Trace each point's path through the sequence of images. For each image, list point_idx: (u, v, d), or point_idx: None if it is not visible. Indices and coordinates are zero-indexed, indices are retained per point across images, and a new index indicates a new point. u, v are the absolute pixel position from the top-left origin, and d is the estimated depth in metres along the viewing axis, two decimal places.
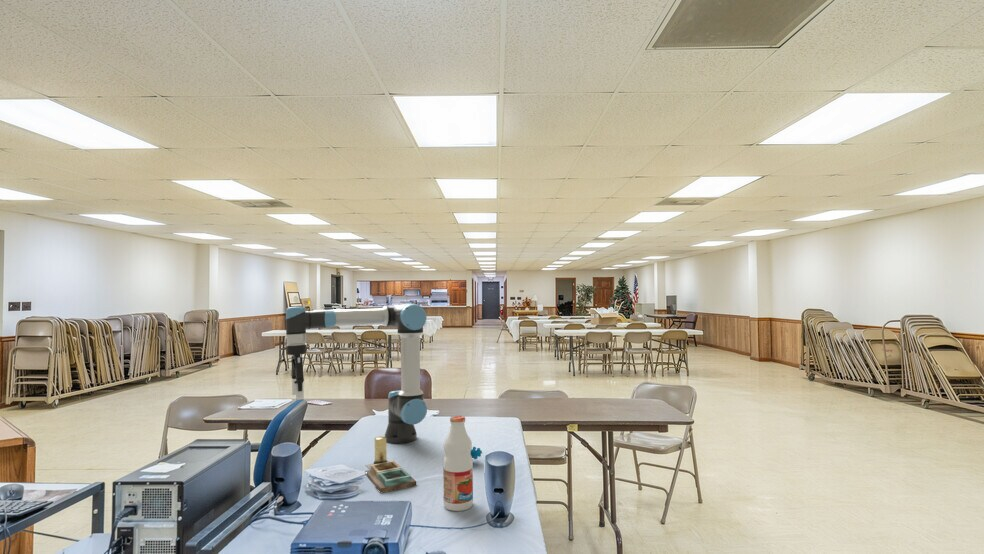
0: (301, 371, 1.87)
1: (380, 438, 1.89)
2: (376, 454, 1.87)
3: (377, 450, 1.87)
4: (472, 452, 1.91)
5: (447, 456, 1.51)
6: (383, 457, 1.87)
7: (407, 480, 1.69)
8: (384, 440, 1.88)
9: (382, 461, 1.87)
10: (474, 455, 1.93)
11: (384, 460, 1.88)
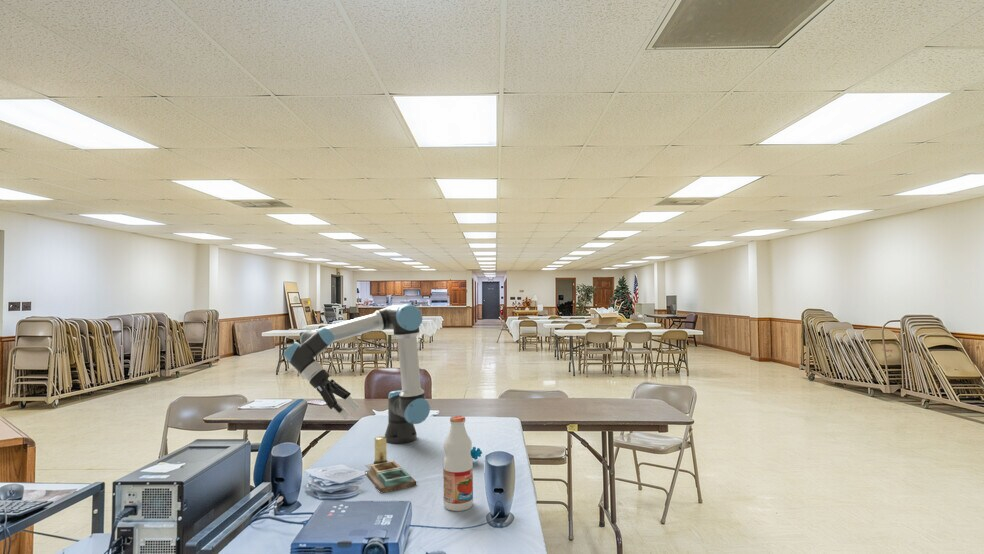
0: (327, 396, 1.82)
1: (380, 438, 1.89)
2: (376, 454, 1.87)
3: (377, 450, 1.87)
4: (472, 452, 1.91)
5: (447, 456, 1.51)
6: (383, 457, 1.87)
7: (407, 480, 1.69)
8: (384, 440, 1.88)
9: (382, 461, 1.87)
10: (474, 455, 1.93)
11: (384, 460, 1.88)
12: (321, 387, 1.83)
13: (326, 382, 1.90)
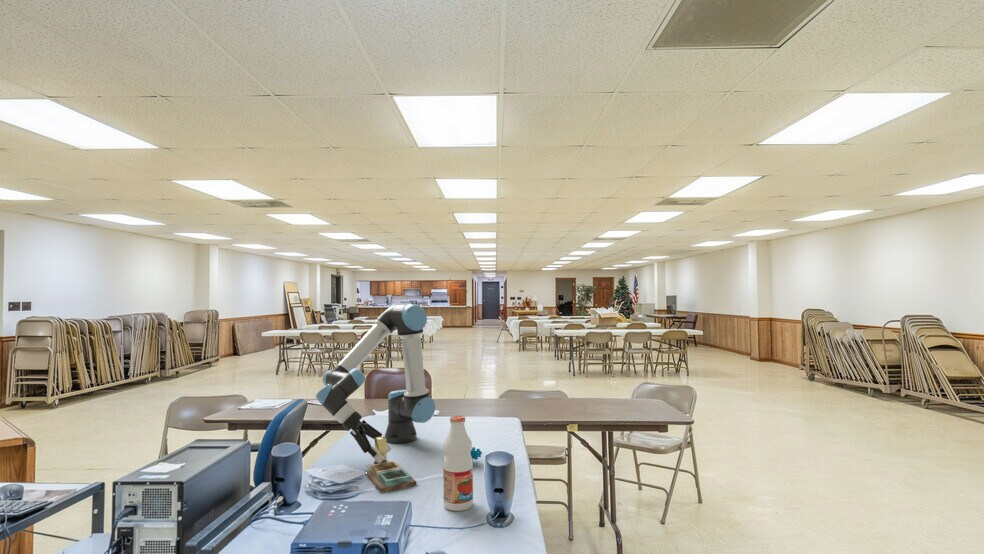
0: (361, 440, 1.81)
1: (380, 438, 1.89)
2: None
3: (377, 450, 1.87)
4: (472, 453, 1.91)
5: (447, 456, 1.51)
6: None
7: (407, 480, 1.69)
8: (384, 440, 1.88)
9: (382, 461, 1.87)
10: (474, 456, 1.93)
11: (384, 460, 1.88)
12: (355, 431, 1.83)
13: (359, 424, 1.89)
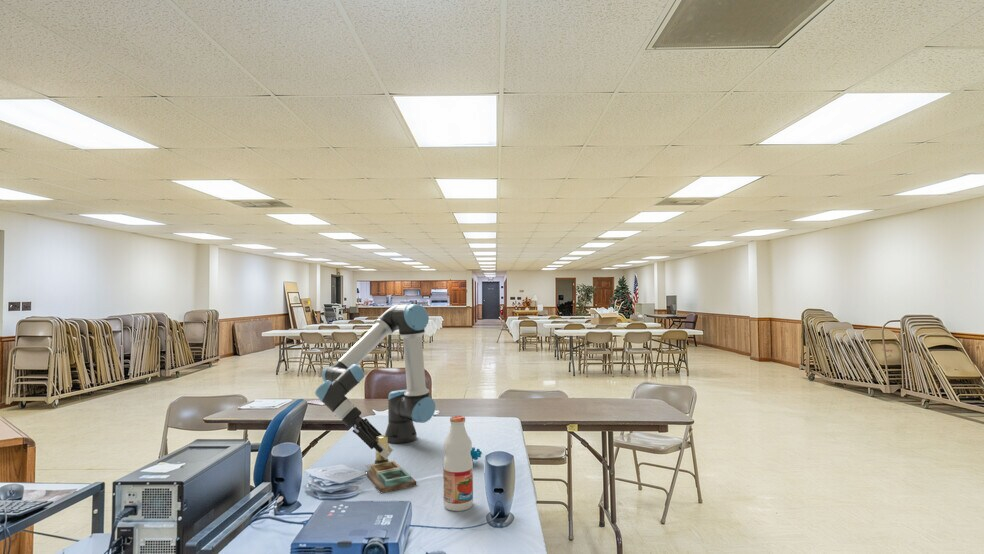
0: (366, 437, 1.83)
1: (381, 437, 1.89)
2: (377, 453, 1.87)
3: None
4: (471, 453, 1.91)
5: (447, 456, 1.51)
6: None
7: (407, 480, 1.69)
8: (385, 439, 1.88)
9: (383, 460, 1.87)
10: (474, 456, 1.92)
11: (385, 459, 1.87)
12: (358, 429, 1.83)
13: (358, 420, 1.89)
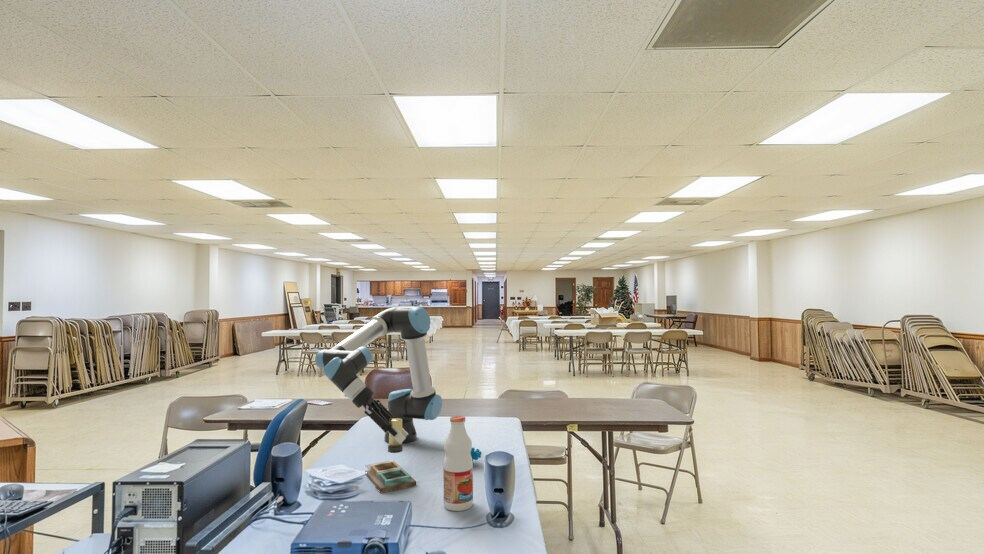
0: (379, 419, 1.66)
1: (395, 420, 1.71)
2: (391, 437, 1.70)
3: None
4: (471, 453, 1.90)
5: (447, 456, 1.51)
6: None
7: (407, 480, 1.69)
8: (400, 422, 1.71)
9: (397, 445, 1.70)
10: (474, 456, 1.92)
11: (399, 444, 1.70)
12: (370, 410, 1.66)
13: (370, 401, 1.72)
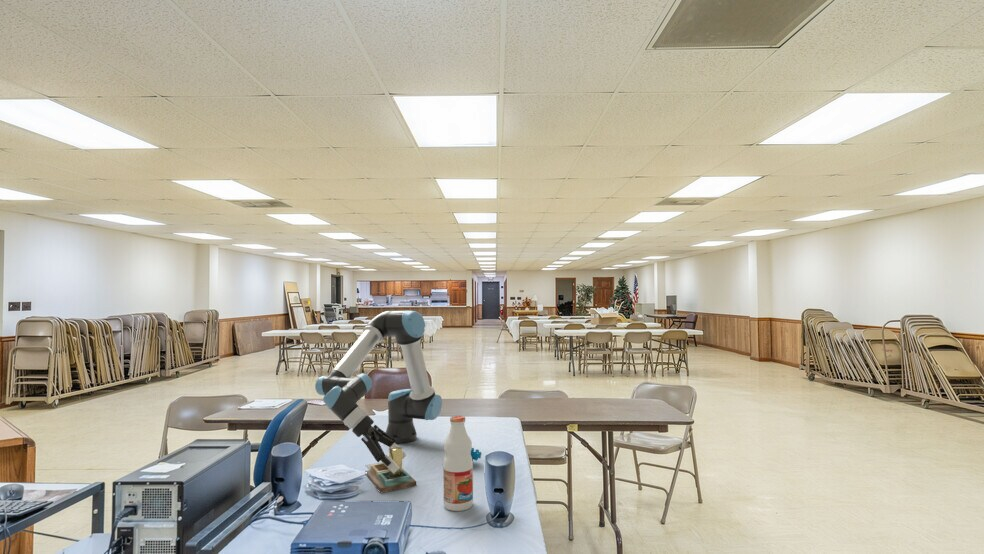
0: (374, 448, 1.63)
1: (395, 449, 1.71)
2: None
3: None
4: (471, 453, 1.90)
5: (447, 456, 1.51)
6: (398, 470, 1.69)
7: (407, 480, 1.69)
8: (399, 451, 1.70)
9: (397, 475, 1.69)
10: (474, 456, 1.92)
11: (399, 473, 1.70)
12: (367, 437, 1.65)
13: (370, 430, 1.71)
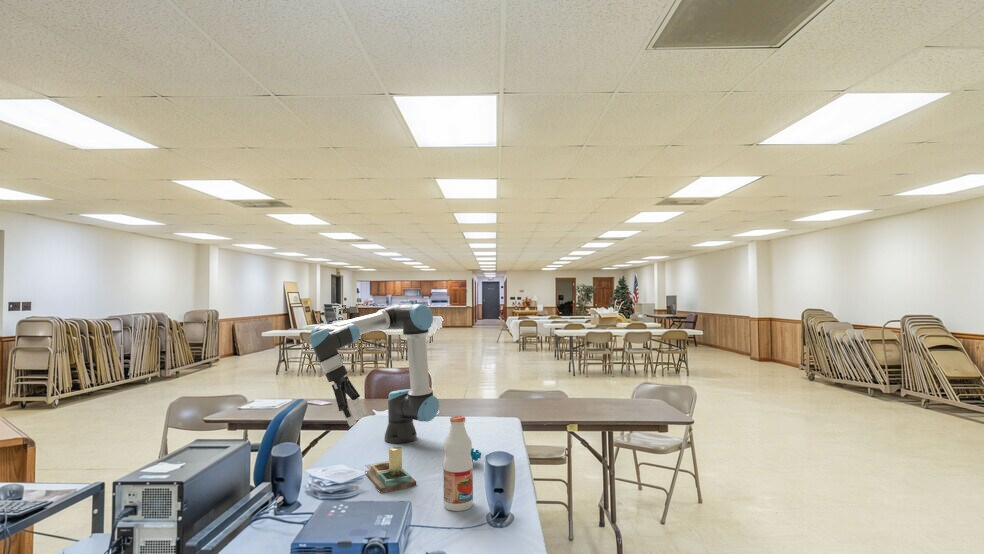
0: (340, 397, 1.72)
1: (395, 449, 1.71)
2: (390, 467, 1.69)
3: (392, 462, 1.69)
4: None
5: (447, 456, 1.51)
6: (398, 470, 1.69)
7: (407, 480, 1.69)
8: (399, 451, 1.70)
9: (397, 474, 1.69)
10: (473, 457, 1.91)
11: (399, 473, 1.70)
12: (337, 386, 1.74)
13: (342, 379, 1.80)
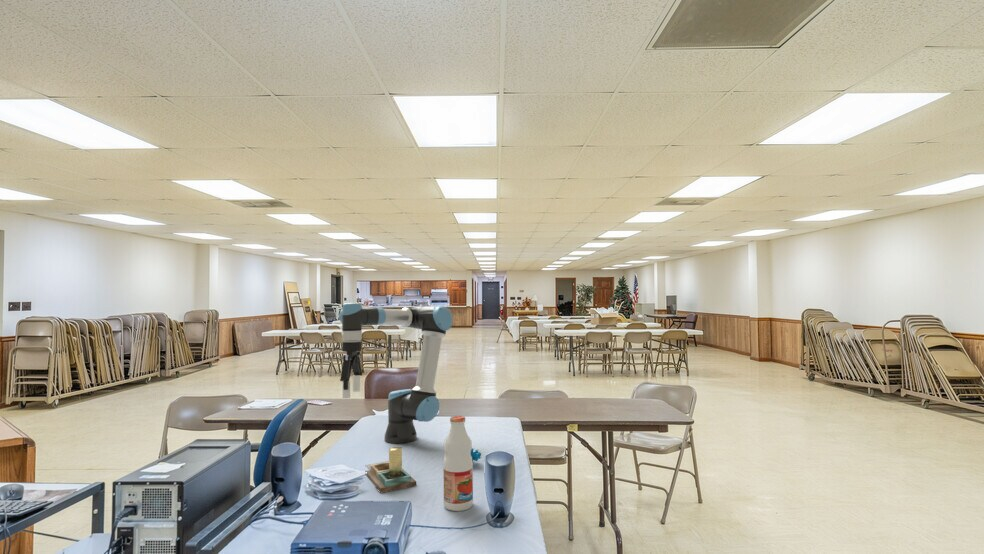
0: (346, 369, 1.82)
1: (395, 449, 1.71)
2: (390, 466, 1.70)
3: (391, 462, 1.69)
4: None
5: (447, 456, 1.51)
6: (398, 470, 1.69)
7: (407, 480, 1.69)
8: (399, 451, 1.70)
9: (397, 474, 1.69)
10: (473, 457, 1.91)
11: (399, 473, 1.70)
12: (348, 358, 1.84)
13: (354, 354, 1.91)
